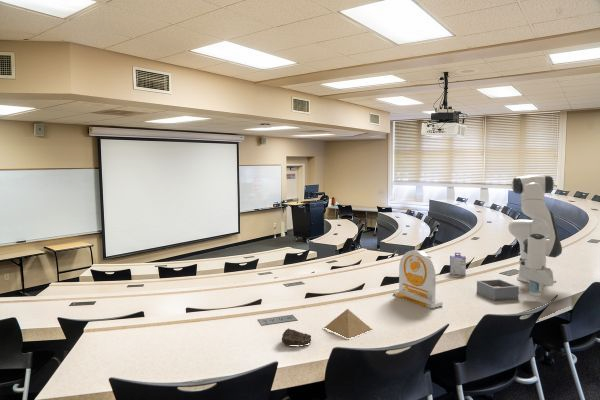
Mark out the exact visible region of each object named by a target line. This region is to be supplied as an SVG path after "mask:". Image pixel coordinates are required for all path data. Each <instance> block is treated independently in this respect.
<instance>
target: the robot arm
mask: <svg viewBox="0 0 600 400" xmlns="http://www.w3.org/2000/svg"><path fill="white" fill-rule="evenodd" d="M510 186H511V189H512V191H513V192H514V193H515V194H517V195H521V199H520V200H521V203H520V204H521V208H520V209H521V212H522V213H523V214H524V216H526V217H529V218H530V219H514V220H513V219H512V220H511V221H510V222H509V223H508V227H507V229H508V232H509V233H510V235H512V236H514V238H515V239H516V240H517V242H518V243H519V249H520V251H519V252H520V257H519V263H518V264H519V267H518V268H519V270H518V273H517V277H516V280H517V281H520V282H524V283H528V286H529V288H530V281H534V282H537V283H539V285H540V286H539V288H537V291H542V292H543V288H544V286H545V287H552V286H554V283H555V281H556V280H557V279H555V278H554V274H553V273H554V272H553V271H552V269H551V268H550V267H547V258H546V257H548V258H549V257H550V258H557V257H559V256H560V255H562V254H563V253H562V252H563V246H562V243H561V241H560V237H559V234H558V233H559V232H558V229H557V224H556V221H555V217H554V214H553V212H552V211H551V210H550V209H549V208H548V207H547V205H546V200H545V198H546V197H545V194H549V193H551V192H553V190H554V188H555V180H554V179H553V177H552V176H551V175H546V174H544V175H536V174H534V175H524V176H515V177H514V178H513V180H512V181H511V185H510ZM556 282H557V281H556Z"/></svg>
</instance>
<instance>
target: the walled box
mask: <svg viewBox="0 0 600 400" xmlns="http://www.w3.org/2000/svg"><path fill="white" fill-rule="evenodd" d="M519 289H520V287H519V286H518V285H515V284H513V283H510V282H508V281H505V280H503V279H501V278H499V279H484V280H476V294H479V295H481V296H482V297H485V298H487V299H489V300H491V301H494V302H498V301H508V300H518V299H519V292H520V291H519Z"/></svg>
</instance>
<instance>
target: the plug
mask: <svg viewBox="0 0 600 400" xmlns="http://www.w3.org/2000/svg"><path fill="white" fill-rule="evenodd" d="M539 286H540V285H539V283H537V282H534V281H530V288H529V291H528V292H529V293H528V294H529V295H532V296H535V297H536V296H542V292H543V290H542V291H537V288H539Z"/></svg>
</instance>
